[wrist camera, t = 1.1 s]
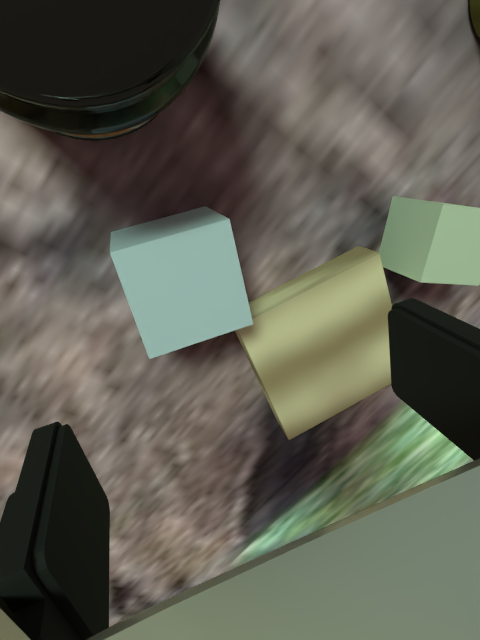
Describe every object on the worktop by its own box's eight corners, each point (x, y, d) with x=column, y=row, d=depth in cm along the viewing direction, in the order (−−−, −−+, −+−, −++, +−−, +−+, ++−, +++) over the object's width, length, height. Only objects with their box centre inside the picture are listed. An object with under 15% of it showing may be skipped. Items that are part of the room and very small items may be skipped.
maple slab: (385, 357, 34) (408, 374, 32) (275, 417, 33) (289, 440, 31) (355, 244, 29) (379, 253, 27) (225, 311, 28) (236, 327, 26)
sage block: (427, 267, 32) (478, 285, 27) (375, 263, 30) (420, 282, 26) (447, 203, 30) (504, 211, 25) (392, 196, 28) (443, 203, 24)
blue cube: (226, 292, 27) (253, 324, 22) (142, 318, 26) (149, 358, 21) (204, 206, 25) (229, 218, 20) (110, 231, 24) (109, 252, 19)
